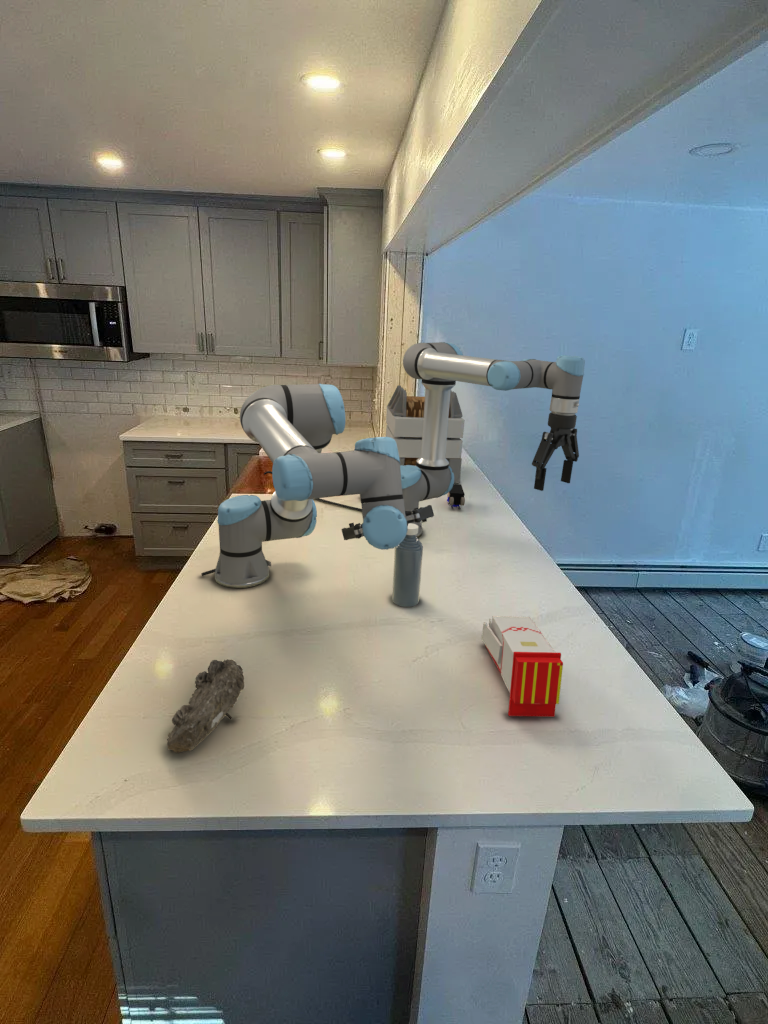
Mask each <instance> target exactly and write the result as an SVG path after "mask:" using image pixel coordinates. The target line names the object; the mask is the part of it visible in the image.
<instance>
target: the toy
mask: <svg viewBox="0 0 768 1024" xmlns="http://www.w3.org/2000/svg"><path fill="white" fill-rule="evenodd" d="M481 632H482V633H481V640H482V642H483V644H484V646H485V648H486V650H487V652H488V654H489V655H490V657H491V659H492V661H493V663H494V664H495V666H496V668H497V670H498V671H499V674H500V676H501V678H502V680H503V682H504V684H505V687H506V688H507V690H508V692H509V700H508V702H509V703H508V710H507V711H508V712H507V715H508V717H551V718H552V717H553V718H555V716H556V707H557V705H559V704H560V698H561V697H560V695H561V688H562V687H561V686H562V678H563V669H564V662H563V661H562V653H561V652H556V651H555V649H554V648H553V647H552V645H551V644H550V643H549V641H548V639H547V638H546V637H545V635H544V634H543V633H542V631H541V630H540V629H539V628H538V626H537V624H536V622H535V621H534V620H533V619H532V617H531V616H514V615H513V616H512V615H511V616H508V615H507V616H506V615H505V616H504V615H492V618H489V620H488V623H487V621H483V623H482V631H481Z"/></svg>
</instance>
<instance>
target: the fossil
mask: <svg viewBox="0 0 768 1024" xmlns="http://www.w3.org/2000/svg"><path fill="white" fill-rule="evenodd" d="M243 670H244V669H243V667H242V665H240V664H237V662H236V661H235V660H234V659H232V658H231V659H227V658H226V659H224V660H223V661H222V660H217V659H212V660H211V661H210V663H209V665H208V666H207V671H201V672H199V673H198V674H197V675H196V676H195V680H194V684H195V685H194V687H195V689H194V690H193V693H192V694H191V697H190V698H189V700H188V704H184V705H182V706H181V707H180V709H177V710H176V711H175V713H174V715H173V716H172V718H171V723H172V724H173V727H172V730H171V731H170V732H168V734H167V738H166V741H167V742H166V745H167V749H168V750H169V751H173V752H174V753H176V754H178V753H182V752H188V751H189V752H192V751H193V750H195V748H196V747H197V746H199V744H200V743H201V742H203V741H204V740H205V739H206V738H207V737H208V736H209V735H210V734H211V733H212V732H214V730H215V729H217V727H218V726H219V724H220V722H221V721H222V720H223V719H224V718H225V716H226V717H227V719H229V720H233V717H232V715H230V714H229V710H230V709H231V708H234V706H235V704H236V703H237V702H238V699H239V697H240V695H241V693H242V691H243V690H245V689H244V688H245V675H244V671H243Z"/></svg>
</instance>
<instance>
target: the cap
mask: <svg viewBox="0 0 768 1024" xmlns="http://www.w3.org/2000/svg"><path fill="white" fill-rule="evenodd" d="M407 527H408V531H407V533H406V535H416V534H418V525H416V524H412V523H409V524H408V526H407Z"/></svg>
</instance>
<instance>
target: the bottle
mask: <svg viewBox="0 0 768 1024" xmlns="http://www.w3.org/2000/svg"><path fill="white" fill-rule="evenodd" d="M423 551H424V546H423V543H422V542H421V540H420V539H419V537H418V538H417V536H416V535H406V537H405V539H404V541H403V542H402V543H401V544H400V545H398V546H396V547H395V548H394V557H393V559H394V560H393V573H392V574H393V577H392V591H391V593H392V595H391V601H392V603H393V604H395V605H396V606H398V607H403V608H410V607H415V606H417V605H418V604H419V603H420V595H421V594H420V593H421V580H422V566H423Z"/></svg>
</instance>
